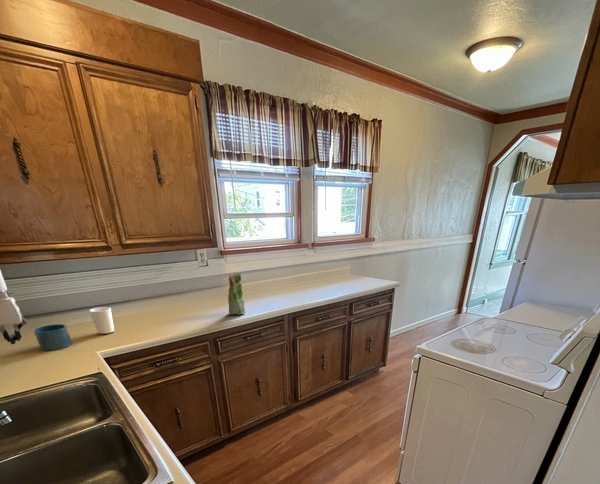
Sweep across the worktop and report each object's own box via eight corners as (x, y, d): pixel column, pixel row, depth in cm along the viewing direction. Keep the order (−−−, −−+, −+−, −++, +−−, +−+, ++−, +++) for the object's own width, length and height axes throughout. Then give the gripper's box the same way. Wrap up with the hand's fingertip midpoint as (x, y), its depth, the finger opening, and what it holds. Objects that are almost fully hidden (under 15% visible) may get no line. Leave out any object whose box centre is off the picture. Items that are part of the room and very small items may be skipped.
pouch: (243, 310, 214) (239, 271, 203) (248, 315, 205) (245, 273, 193) (226, 312, 210) (222, 272, 199) (231, 317, 200) (227, 275, 189)
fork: (17, 343, 132) (14, 337, 131) (9, 344, 131) (6, 338, 130) (20, 337, 140) (17, 331, 139) (12, 338, 138) (10, 332, 137)
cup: (91, 334, 171) (84, 310, 165) (107, 329, 179) (100, 306, 174) (105, 336, 168) (98, 312, 162) (121, 331, 176) (115, 307, 170)
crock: (40, 352, 148) (32, 333, 144) (41, 344, 157) (34, 326, 153) (72, 347, 154) (65, 329, 150) (71, 340, 163) (66, 322, 159)
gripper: (24, 292, 134) (39, 335, 142) (-29, 295, 126) (-10, 341, 134) (21, 295, 128) (37, 340, 136) (-34, 299, 120) (-14, 346, 128)
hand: (14, 340), depth 135 cm, fingers closed on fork, 2 cm apart
